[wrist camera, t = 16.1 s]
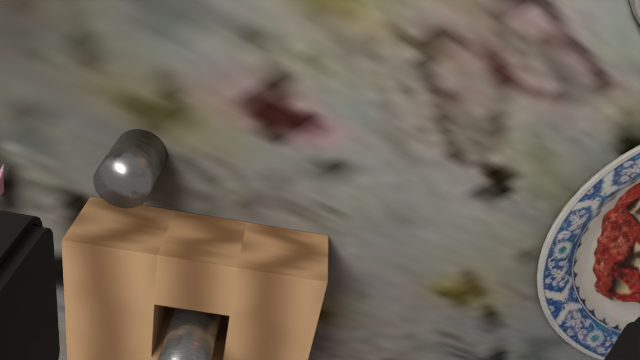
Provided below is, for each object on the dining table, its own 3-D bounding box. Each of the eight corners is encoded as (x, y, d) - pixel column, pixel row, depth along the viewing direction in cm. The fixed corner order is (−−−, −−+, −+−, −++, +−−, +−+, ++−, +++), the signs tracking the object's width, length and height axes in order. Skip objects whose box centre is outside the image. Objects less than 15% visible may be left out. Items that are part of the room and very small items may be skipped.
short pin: (168, 134, 45) (151, 166, 41) (165, 178, 47) (148, 212, 43) (116, 125, 45) (93, 156, 40) (115, 169, 47) (93, 203, 42)
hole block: (328, 235, 50) (327, 282, 44) (297, 363, 58) (293, 415, 52) (90, 196, 48) (61, 240, 43) (93, 333, 56) (68, 384, 51)
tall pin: (229, 274, 52) (203, 383, 42) (224, 307, 54) (199, 418, 44) (184, 267, 52) (147, 375, 41) (181, 300, 54) (145, 411, 43)
